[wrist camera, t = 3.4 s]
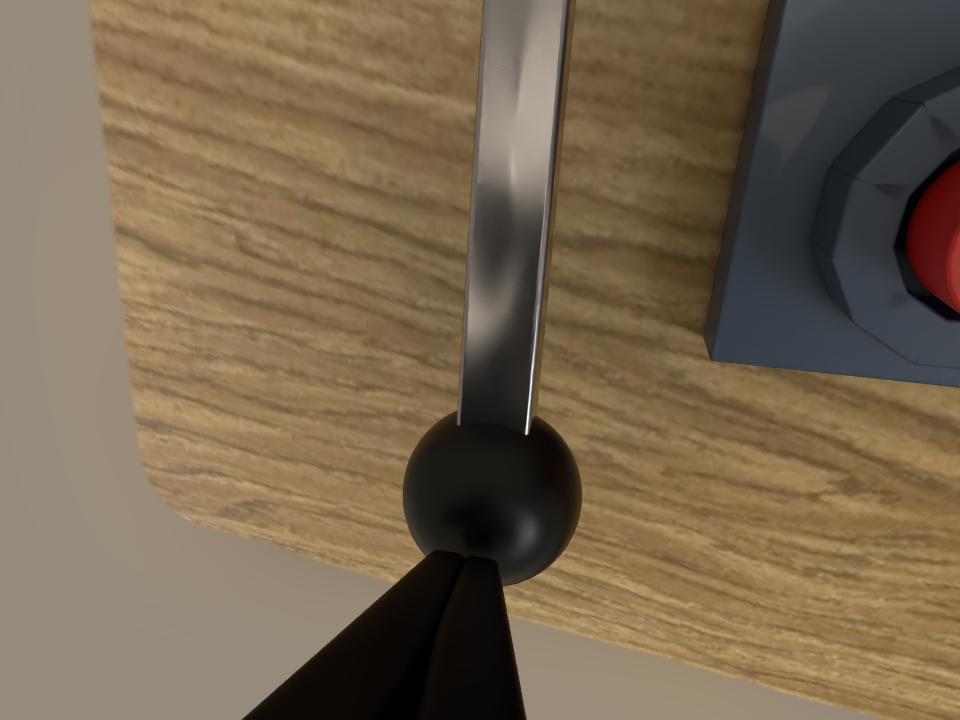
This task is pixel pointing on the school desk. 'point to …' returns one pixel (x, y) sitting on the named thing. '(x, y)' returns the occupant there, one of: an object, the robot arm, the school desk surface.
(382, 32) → the school desk surface
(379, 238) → the school desk surface
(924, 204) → the red button
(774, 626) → the school desk surface
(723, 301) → the button block
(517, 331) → the lever handle
